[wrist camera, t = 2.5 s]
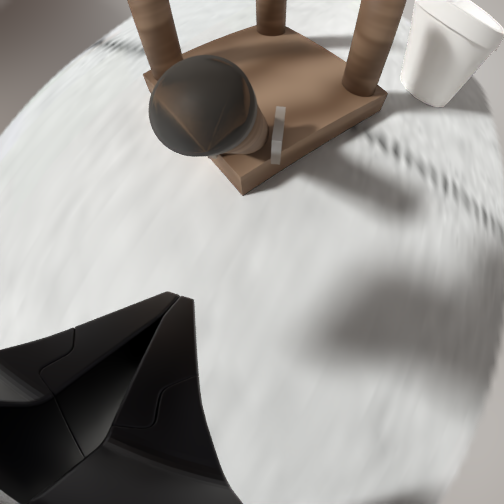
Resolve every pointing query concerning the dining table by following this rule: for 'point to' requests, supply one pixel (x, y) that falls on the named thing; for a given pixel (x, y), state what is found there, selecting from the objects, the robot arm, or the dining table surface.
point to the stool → (284, 78)
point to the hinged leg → (207, 109)
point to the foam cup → (446, 48)
